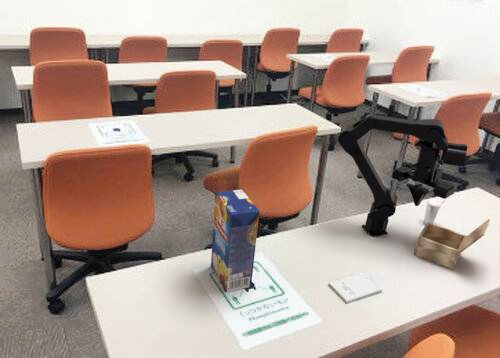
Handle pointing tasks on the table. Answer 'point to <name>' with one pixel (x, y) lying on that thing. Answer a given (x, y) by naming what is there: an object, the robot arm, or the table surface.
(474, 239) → the flap
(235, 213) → the juice carton
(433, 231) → the carton
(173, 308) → the table surface
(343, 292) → the external hard drive
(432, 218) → the milkshake
